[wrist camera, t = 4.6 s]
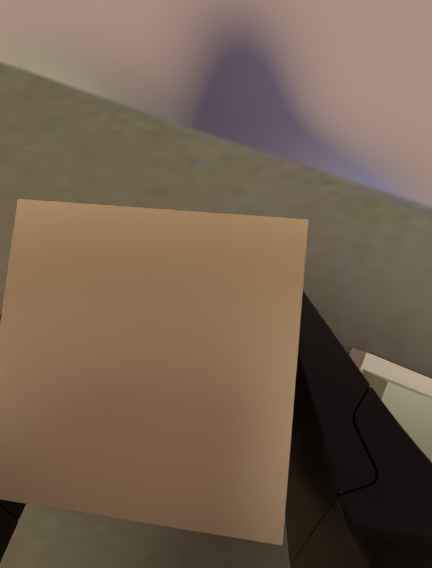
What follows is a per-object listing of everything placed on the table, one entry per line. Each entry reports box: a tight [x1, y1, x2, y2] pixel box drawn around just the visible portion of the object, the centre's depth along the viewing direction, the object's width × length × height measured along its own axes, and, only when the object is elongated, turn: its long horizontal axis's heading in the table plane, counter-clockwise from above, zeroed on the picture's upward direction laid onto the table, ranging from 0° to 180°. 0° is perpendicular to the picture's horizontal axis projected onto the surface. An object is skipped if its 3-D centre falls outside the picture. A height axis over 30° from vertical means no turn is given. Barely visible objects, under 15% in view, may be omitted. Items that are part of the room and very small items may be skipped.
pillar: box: [0, 199, 308, 546], centre depth 10 cm, size 4×4×10 cm
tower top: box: [362, 369, 432, 462], centre depth 12 cm, size 6×6×2 cm
